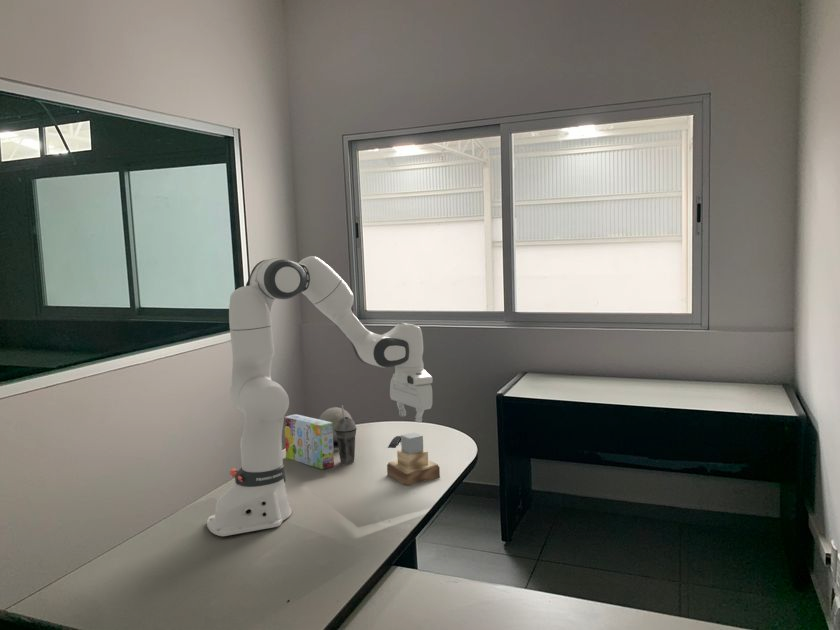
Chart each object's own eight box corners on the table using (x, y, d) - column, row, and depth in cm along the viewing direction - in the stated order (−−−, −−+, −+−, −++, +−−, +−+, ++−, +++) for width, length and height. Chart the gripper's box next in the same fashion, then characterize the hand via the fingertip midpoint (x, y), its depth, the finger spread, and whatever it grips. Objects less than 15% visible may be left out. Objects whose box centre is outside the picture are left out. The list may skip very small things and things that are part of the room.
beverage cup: (362, 461, 213) (359, 403, 211) (349, 467, 207) (346, 408, 205) (345, 458, 217) (343, 401, 215) (332, 464, 211) (329, 406, 209)
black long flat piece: (374, 456, 220) (374, 447, 220) (397, 436, 244) (396, 428, 243) (398, 458, 217) (398, 448, 217) (419, 437, 241) (419, 429, 241)
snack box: (335, 466, 209) (333, 421, 208) (322, 470, 205) (320, 425, 204) (298, 454, 224) (295, 412, 222) (284, 458, 219) (282, 416, 218)
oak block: (409, 468, 191) (408, 456, 191) (397, 462, 197) (397, 450, 197) (428, 464, 195) (427, 451, 195) (416, 458, 201) (416, 446, 200)
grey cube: (409, 454, 192) (409, 438, 192) (401, 450, 196) (400, 435, 196) (423, 451, 195) (422, 435, 194) (415, 447, 199) (414, 432, 199)
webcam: (361, 445, 231) (359, 405, 230) (339, 455, 220) (337, 413, 219) (333, 441, 238) (331, 402, 237) (311, 450, 227) (309, 410, 226)
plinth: (406, 485, 188) (406, 472, 188) (387, 474, 198) (386, 462, 198) (439, 477, 194) (439, 464, 194) (419, 467, 205) (419, 455, 204)
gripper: (384, 371, 201) (385, 413, 202) (417, 380, 183) (418, 427, 184) (401, 369, 204) (402, 411, 205) (435, 378, 187) (436, 423, 188)
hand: (410, 418), depth 195 cm, fingers open, 8 cm apart
